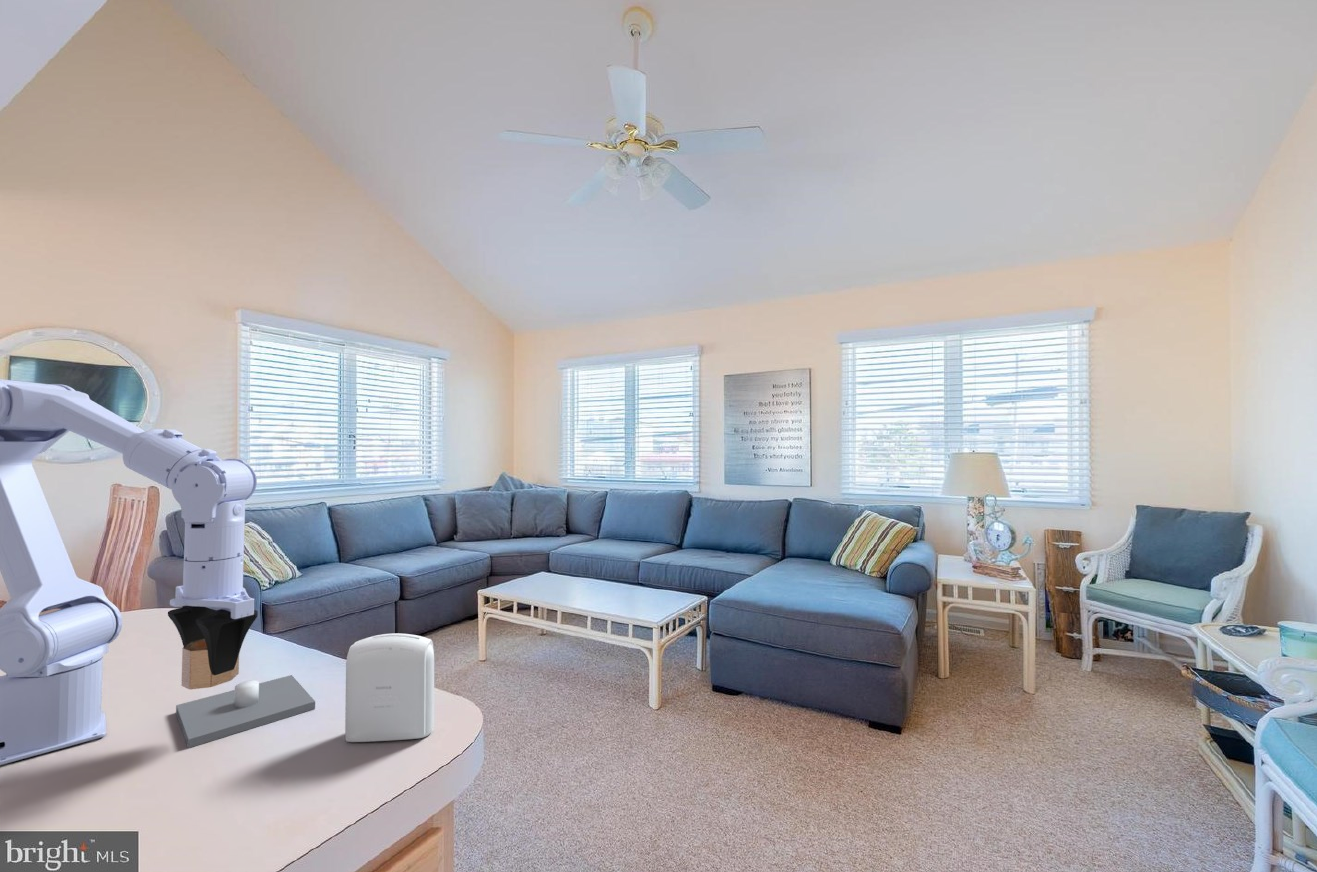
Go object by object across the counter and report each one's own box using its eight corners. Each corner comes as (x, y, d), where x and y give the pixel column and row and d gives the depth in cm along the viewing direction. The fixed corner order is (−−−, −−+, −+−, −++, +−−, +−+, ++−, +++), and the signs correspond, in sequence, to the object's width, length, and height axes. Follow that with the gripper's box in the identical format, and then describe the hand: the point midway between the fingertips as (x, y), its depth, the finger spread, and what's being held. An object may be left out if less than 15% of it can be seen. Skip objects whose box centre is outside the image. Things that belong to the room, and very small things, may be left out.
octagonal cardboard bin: (195, 692, 62) (196, 653, 62) (175, 683, 64) (176, 645, 64) (244, 675, 66) (245, 639, 66) (224, 667, 69) (225, 633, 69)
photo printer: (338, 746, 63) (340, 642, 64) (354, 727, 68) (357, 629, 68) (427, 742, 64) (429, 640, 65) (438, 723, 69) (440, 628, 69)
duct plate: (188, 747, 63) (189, 718, 63) (176, 712, 71) (176, 686, 71) (315, 708, 72) (315, 682, 72) (291, 681, 80) (292, 658, 80)
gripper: (145, 556, 65) (142, 667, 65) (204, 570, 59) (201, 693, 59) (214, 547, 72) (211, 647, 71) (274, 558, 65) (271, 669, 65)
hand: (211, 667), depth 65 cm, fingers closed on octagonal cardboard bin, 5 cm apart
